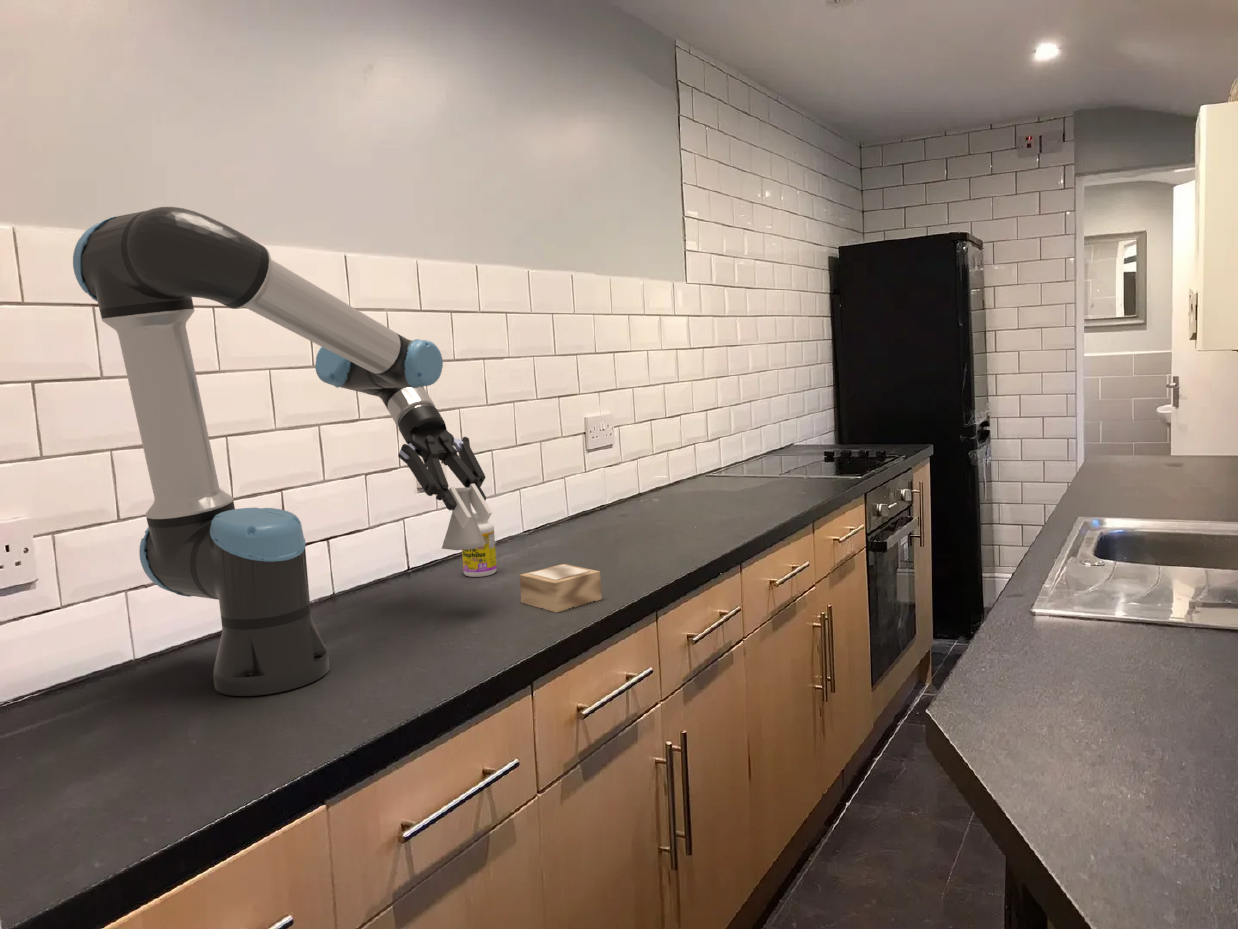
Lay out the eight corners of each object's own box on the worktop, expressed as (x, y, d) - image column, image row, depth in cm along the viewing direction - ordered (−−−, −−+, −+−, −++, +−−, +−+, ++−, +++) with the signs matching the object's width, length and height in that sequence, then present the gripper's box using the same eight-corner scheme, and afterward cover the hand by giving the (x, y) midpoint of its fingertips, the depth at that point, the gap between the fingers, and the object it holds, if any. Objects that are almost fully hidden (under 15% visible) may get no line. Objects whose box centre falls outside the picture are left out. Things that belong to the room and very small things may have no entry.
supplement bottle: (458, 577, 181) (452, 513, 180) (472, 569, 188) (468, 508, 186) (488, 578, 179) (483, 513, 178) (502, 570, 186) (498, 507, 184)
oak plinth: (556, 612, 152) (554, 582, 152) (521, 602, 160) (519, 573, 159) (601, 599, 159) (600, 570, 158) (565, 590, 166) (564, 562, 166)
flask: (474, 552, 149) (471, 491, 148) (434, 551, 151) (431, 491, 150) (492, 543, 156) (489, 486, 155) (454, 543, 158) (451, 485, 157)
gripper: (450, 428, 168) (509, 525, 158) (368, 437, 157) (426, 543, 147) (464, 399, 164) (525, 498, 153) (380, 407, 153) (441, 514, 142)
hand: (477, 520), depth 150 cm, fingers closed on flask, 3 cm apart
